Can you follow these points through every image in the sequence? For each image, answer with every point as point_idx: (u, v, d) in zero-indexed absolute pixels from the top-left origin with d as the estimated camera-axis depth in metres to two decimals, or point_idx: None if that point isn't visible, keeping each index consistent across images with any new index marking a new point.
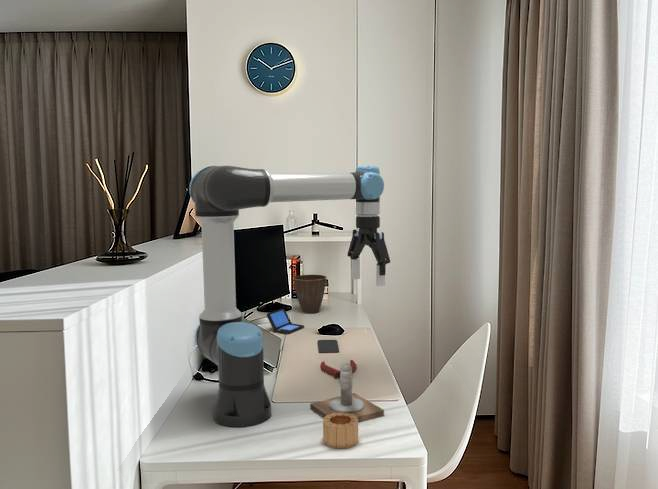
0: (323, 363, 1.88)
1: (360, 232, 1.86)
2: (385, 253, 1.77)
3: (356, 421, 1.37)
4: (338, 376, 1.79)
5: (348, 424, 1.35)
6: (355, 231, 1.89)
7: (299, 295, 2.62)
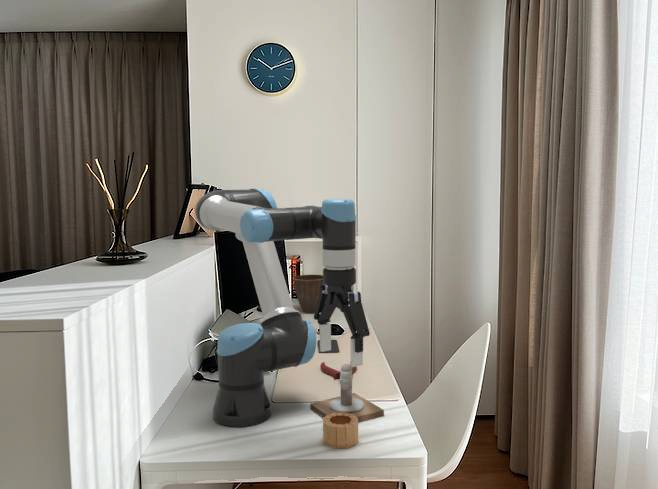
0: (323, 364, 1.87)
1: (329, 289, 1.35)
2: (363, 322, 1.27)
3: (356, 421, 1.37)
4: (338, 377, 1.79)
5: (348, 424, 1.35)
6: (323, 287, 1.38)
7: (299, 295, 2.62)
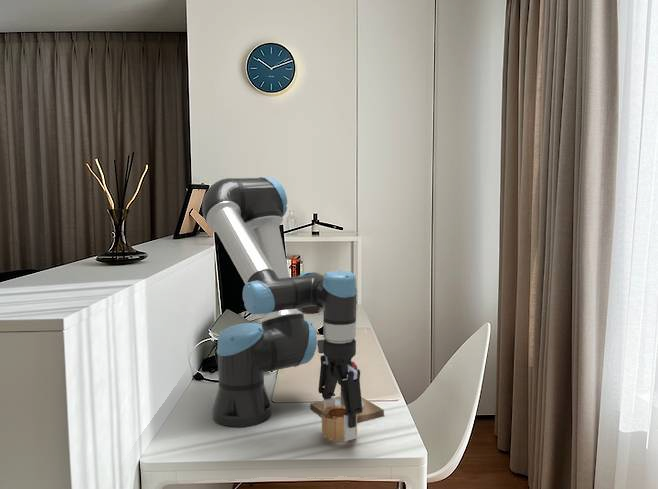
0: None
1: (329, 358, 1.38)
2: (357, 400, 1.31)
3: None
4: None
5: None
6: (323, 358, 1.40)
7: None
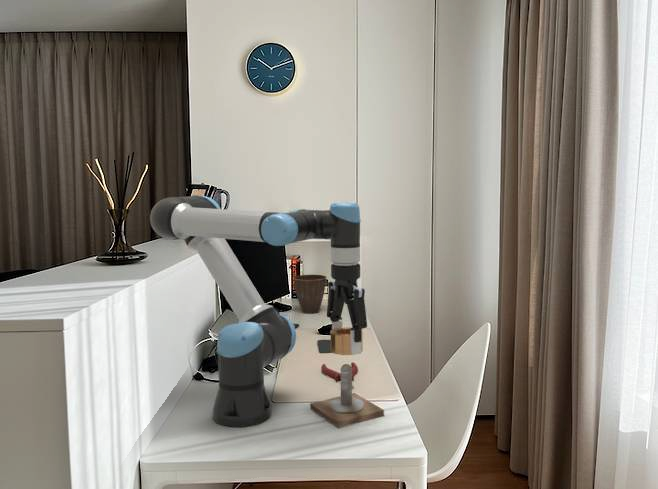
0: (324, 366, 1.86)
1: (336, 282, 1.52)
2: (362, 316, 1.45)
3: None
4: (339, 379, 1.77)
5: None
6: (331, 283, 1.55)
7: (299, 295, 2.62)
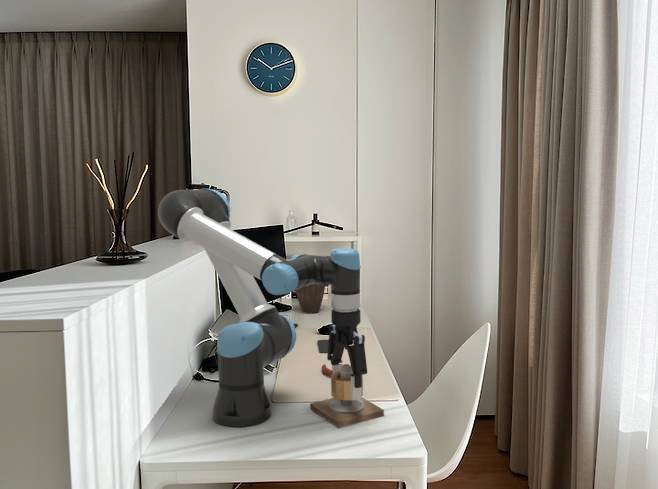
0: (324, 366, 1.85)
1: (337, 327, 1.53)
2: (363, 363, 1.46)
3: None
4: None
5: None
6: (331, 327, 1.56)
7: (299, 295, 2.62)
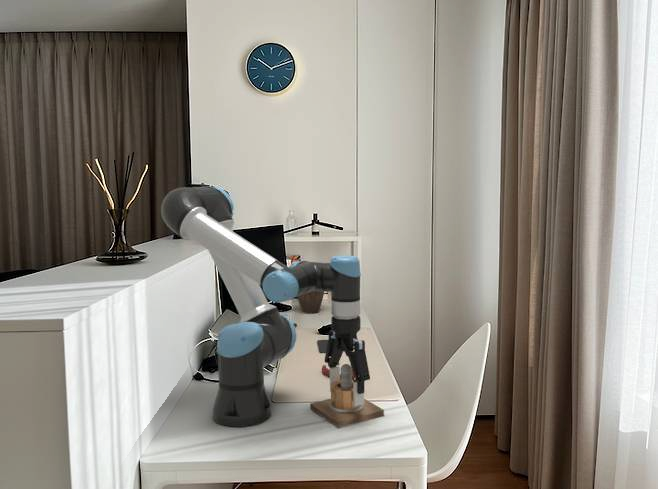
0: (324, 367, 1.85)
1: (337, 334, 1.53)
2: (365, 368, 1.46)
3: None
4: None
5: None
6: (331, 332, 1.56)
7: None
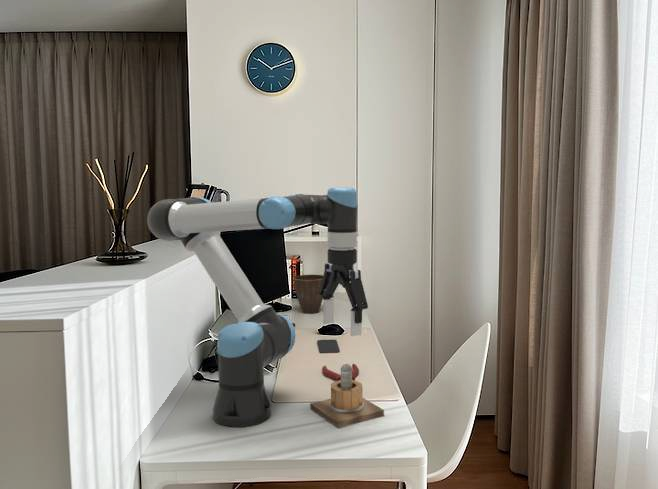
0: (325, 367, 1.84)
1: (333, 268, 1.52)
2: (362, 296, 1.44)
3: (360, 386, 1.52)
4: None
5: (354, 388, 1.51)
6: (327, 266, 1.55)
7: (299, 295, 2.62)
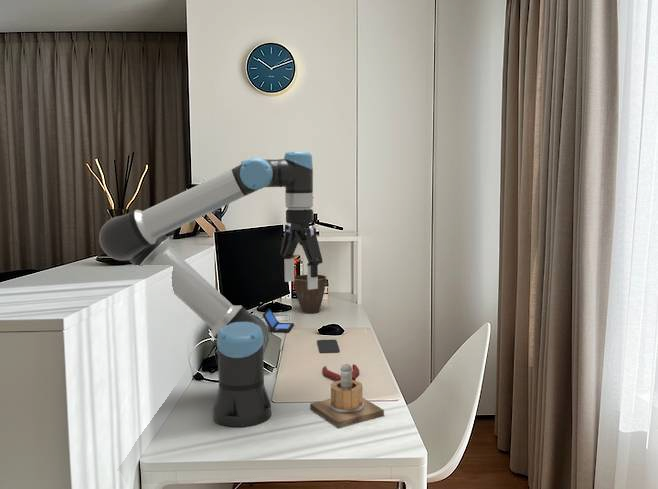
0: (325, 368, 1.83)
1: (292, 228, 1.63)
2: (317, 252, 1.54)
3: (360, 386, 1.52)
4: None
5: (354, 388, 1.51)
6: (287, 227, 1.65)
7: (299, 295, 2.62)
